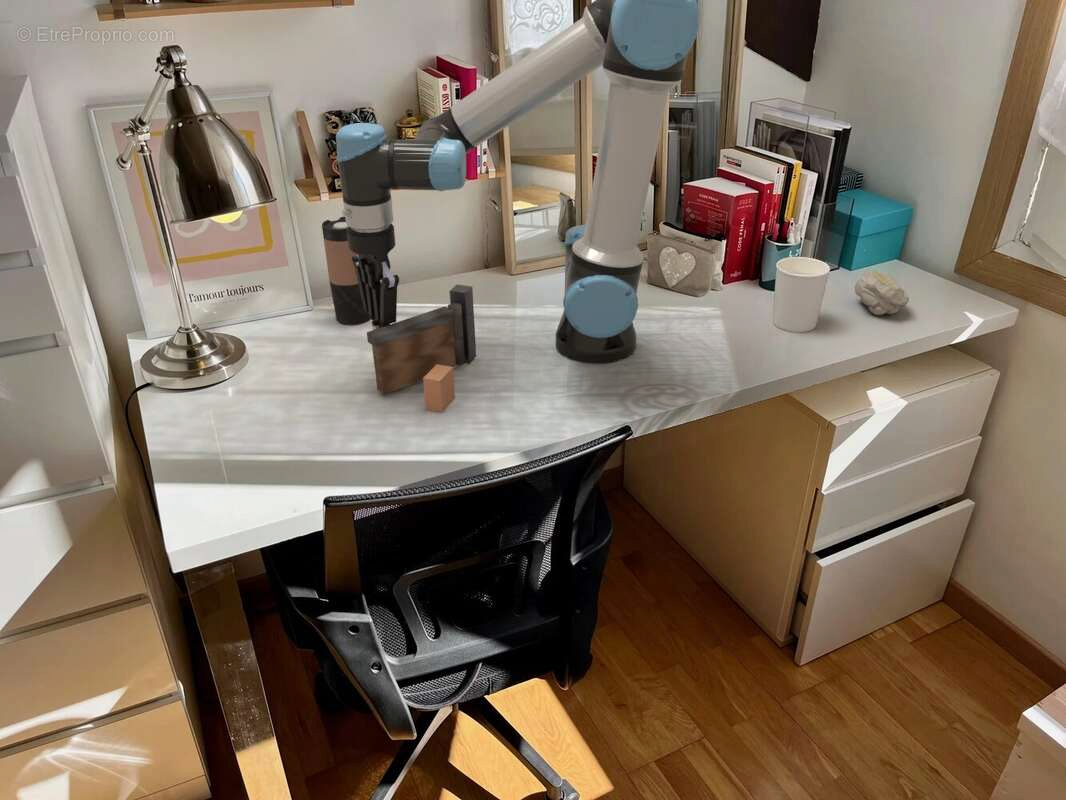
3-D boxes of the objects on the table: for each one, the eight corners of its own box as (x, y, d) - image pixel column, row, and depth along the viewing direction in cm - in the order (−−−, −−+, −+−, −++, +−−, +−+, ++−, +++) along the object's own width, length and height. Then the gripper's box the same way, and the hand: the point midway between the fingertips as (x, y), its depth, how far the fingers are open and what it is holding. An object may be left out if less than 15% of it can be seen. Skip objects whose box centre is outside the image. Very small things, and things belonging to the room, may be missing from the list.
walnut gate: (459, 358, 156) (455, 301, 150) (467, 363, 154) (464, 306, 149) (374, 390, 146) (366, 331, 141) (381, 395, 145) (374, 336, 139)
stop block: (455, 398, 145) (452, 367, 142) (442, 412, 141) (439, 381, 138) (439, 395, 146) (436, 364, 143) (426, 409, 142) (423, 378, 139)
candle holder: (764, 329, 166) (772, 272, 160) (772, 310, 174) (780, 254, 168) (817, 337, 163) (827, 278, 157) (822, 317, 170) (832, 260, 164)
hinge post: (476, 356, 158) (472, 286, 151) (469, 364, 156) (465, 293, 149) (461, 354, 159) (456, 284, 152) (454, 361, 157) (449, 290, 150)
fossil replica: (874, 295, 180) (838, 308, 176) (877, 257, 176) (840, 270, 172) (921, 312, 170) (884, 326, 166) (925, 272, 166) (887, 286, 163)
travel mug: (365, 327, 170) (352, 230, 160) (329, 324, 171) (314, 228, 161) (378, 311, 176) (367, 217, 166) (343, 308, 178) (330, 215, 167)
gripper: (331, 218, 140) (348, 346, 152) (366, 241, 131) (381, 375, 143) (373, 209, 143) (386, 335, 156) (409, 231, 134) (421, 363, 147)
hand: (384, 354), depth 149 cm, fingers closed
